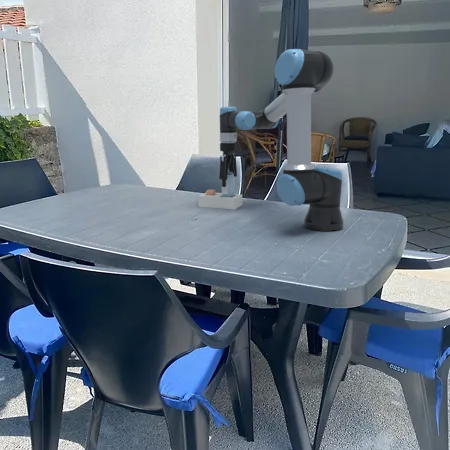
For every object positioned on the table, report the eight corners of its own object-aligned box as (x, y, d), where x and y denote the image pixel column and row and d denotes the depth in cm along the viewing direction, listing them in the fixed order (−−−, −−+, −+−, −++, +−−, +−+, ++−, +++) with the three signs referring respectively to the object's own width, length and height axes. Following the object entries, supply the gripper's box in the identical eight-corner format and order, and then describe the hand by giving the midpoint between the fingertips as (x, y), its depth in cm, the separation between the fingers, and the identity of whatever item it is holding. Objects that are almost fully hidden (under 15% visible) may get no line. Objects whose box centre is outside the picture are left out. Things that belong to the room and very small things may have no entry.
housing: (234, 211, 194) (234, 198, 192) (198, 208, 201) (198, 195, 199) (242, 207, 203) (242, 194, 201) (207, 204, 209) (207, 191, 208)
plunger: (213, 202, 200) (213, 191, 199) (205, 202, 202) (204, 190, 200) (216, 201, 204) (216, 189, 203) (208, 200, 206) (208, 189, 204)
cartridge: (231, 207, 197) (231, 173, 193) (221, 206, 199) (221, 172, 194) (235, 205, 201) (235, 171, 197) (225, 204, 203) (225, 171, 199)
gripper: (227, 144, 182) (227, 196, 187) (244, 140, 200) (243, 188, 206) (211, 143, 184) (211, 195, 190) (229, 140, 203) (229, 187, 209)
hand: (228, 192), depth 198 cm, fingers open, 8 cm apart
